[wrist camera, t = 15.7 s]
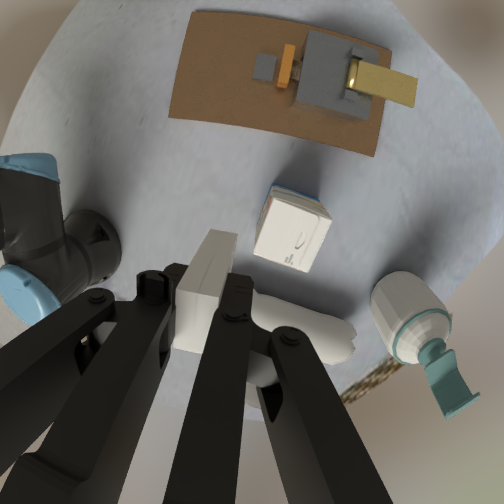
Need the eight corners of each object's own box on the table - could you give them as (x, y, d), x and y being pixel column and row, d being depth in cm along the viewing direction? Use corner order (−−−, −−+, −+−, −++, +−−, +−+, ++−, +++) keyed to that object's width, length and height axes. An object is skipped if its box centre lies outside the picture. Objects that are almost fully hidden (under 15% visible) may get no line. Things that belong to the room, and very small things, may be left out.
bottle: (362, 318, 51) (216, 256, 49) (356, 362, 46) (195, 302, 44) (338, 331, 59) (207, 279, 56) (330, 371, 54) (190, 319, 51)
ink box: (271, 181, 46) (273, 195, 35) (319, 199, 47) (334, 218, 36) (254, 229, 49) (251, 255, 38) (300, 244, 50) (309, 275, 39)
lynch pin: (276, 86, 37) (277, 81, 33) (283, 52, 35) (285, 43, 31) (362, 108, 37) (371, 106, 33) (368, 74, 35) (377, 69, 31)
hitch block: (170, 117, 42) (143, 113, 32) (193, 14, 35) (175, -14, 24) (371, 156, 43) (399, 163, 33) (389, 53, 36) (418, 36, 25)
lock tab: (345, 89, 31) (346, 87, 30) (350, 60, 29) (351, 57, 28) (411, 108, 29) (413, 107, 28) (415, 80, 28) (418, 78, 27)
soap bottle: (408, 253, 49) (504, 359, 21) (424, 298, 53) (499, 402, 24) (355, 286, 52) (417, 417, 24) (377, 327, 56) (429, 447, 27)
